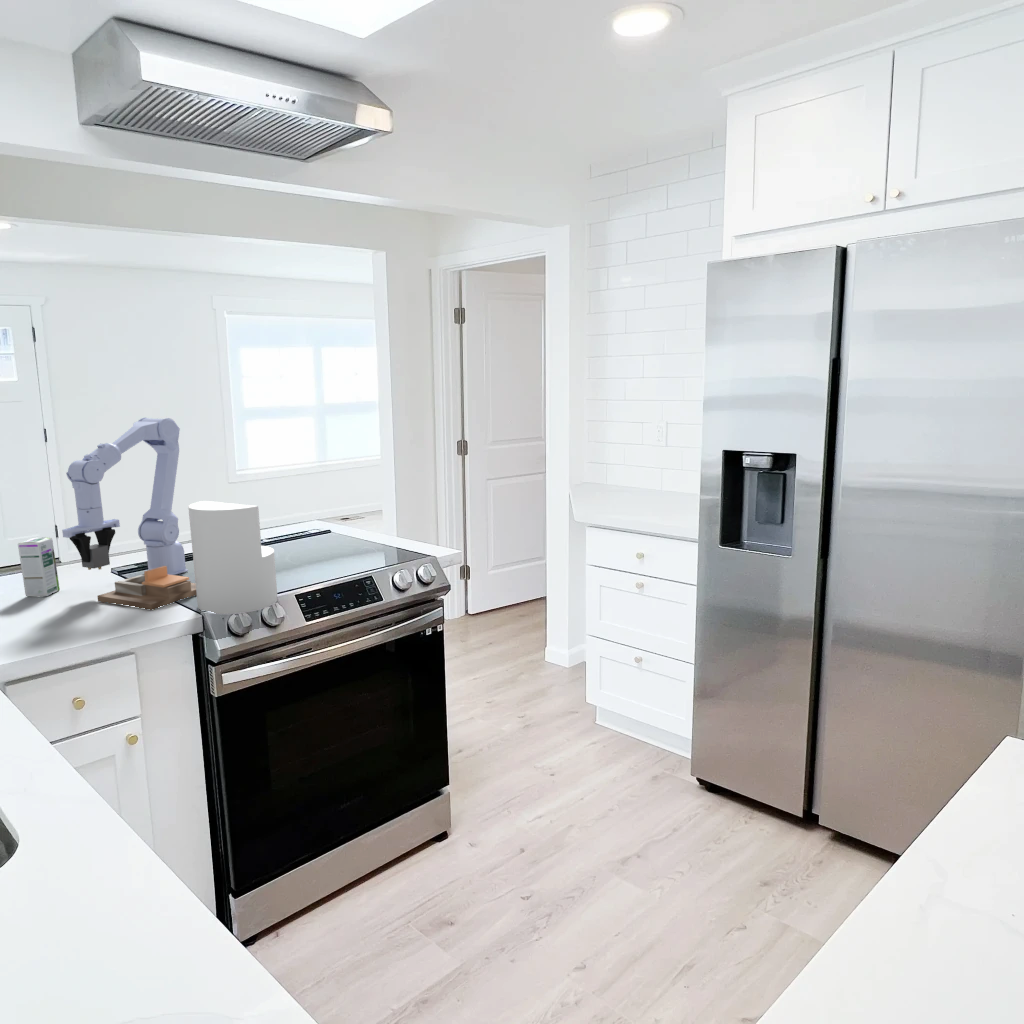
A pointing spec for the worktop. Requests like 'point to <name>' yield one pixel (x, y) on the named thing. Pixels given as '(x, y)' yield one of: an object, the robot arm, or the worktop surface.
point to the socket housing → (147, 593)
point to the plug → (97, 557)
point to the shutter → (161, 577)
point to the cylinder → (231, 558)
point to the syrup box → (38, 566)
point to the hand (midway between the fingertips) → (95, 559)
